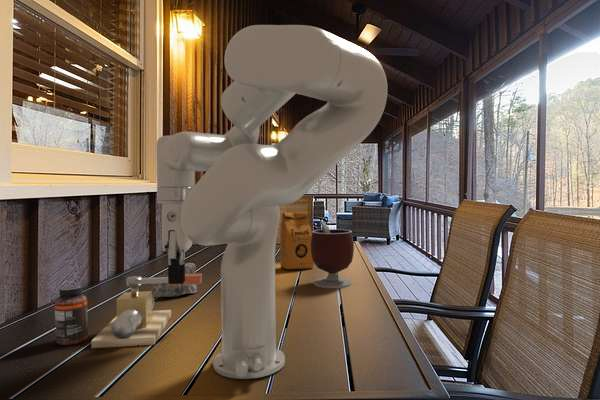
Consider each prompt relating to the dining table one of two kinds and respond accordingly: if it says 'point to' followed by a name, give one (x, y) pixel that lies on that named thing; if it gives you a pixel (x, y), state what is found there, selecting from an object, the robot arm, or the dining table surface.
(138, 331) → the board
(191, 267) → the mineral rock
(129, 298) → the valve body
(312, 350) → the dining table surface
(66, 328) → the supplement bottle
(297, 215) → the coffee package
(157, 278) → the lever
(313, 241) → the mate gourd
